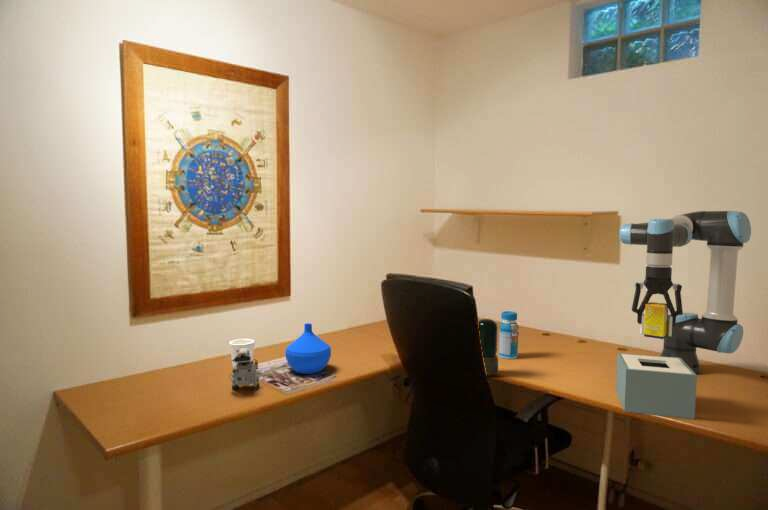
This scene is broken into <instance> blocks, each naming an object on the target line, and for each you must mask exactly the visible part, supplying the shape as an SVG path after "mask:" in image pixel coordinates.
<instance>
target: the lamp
mask: <svg viewBox="0 0 768 510" xmlns="http://www.w3.org/2000/svg"><path fill="white" fill-rule="evenodd" d="M477 322H479V331H480V340H481V347H482V352H483V358H484V363H485V368H486V372H487V375H488V376H487V377H493V376H495V375H497V374H498V372H499V357H498V355H497V353H498V332H499V331H498V330H499V329H498V324H497V322H496V321H495V320H493V319H491V318H482V319H478V321H477Z"/></svg>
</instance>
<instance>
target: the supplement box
mask: <svg viewBox="0 0 768 510" xmlns="http://www.w3.org/2000/svg"><path fill="white" fill-rule="evenodd" d="M644 311H645V312H644V315H645V325H644V335H643V336H644V337H645V338H652V339H659V340H664V338H665V337H666V336H667V325H668V314H669V308H668V305H667V303H666V302H664V303H663V302H656V301H655V302H653V301H649V302H648V304H645V310H644Z"/></svg>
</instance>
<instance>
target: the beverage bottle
mask: <svg viewBox="0 0 768 510" xmlns="http://www.w3.org/2000/svg"><path fill="white" fill-rule="evenodd" d="M501 320H502V321H501V322H500V325H499V331H498V335H499V337H498V339H499V340H498V343H499V344H498V346H499V347H498V348H499V349H498V356H499V357H500V358H502V359H506V360H508V359H509V360H513V359H514V360H515V359H517V358H518V357H519V354H518V353H519V349H518V348H519V334H520V333H519V325H518V323H517V320H518V313H517V312H516V311H512V310H511V311H510V310H508V311H505V310H504V311H501Z"/></svg>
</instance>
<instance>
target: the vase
mask: <svg viewBox="0 0 768 510" xmlns="http://www.w3.org/2000/svg"><path fill="white" fill-rule="evenodd" d="M312 324H313V323H309V322H308V323H307V322H306V323H304V327H303V328H304V330H303V332H302V334H301V335H300V336H299V337H298V338H296V339H295V340H294V341H292V342H291V343H290V344H288V345H287V347H286V349H285V353H284V354H285V355H284V356H285V359H286V361H287V363H288V364H287V365H289V366H290V368H291V370H292V371H294V372H296V373H298V374H299V375H300V374H302V375H313V374H317V373H320V372H322V371H323V370H324V369H325V367H326V366H327V365H328V363H329V362H330V359H331V356H332V347H331V346H330V344H328V343H327V342H325V341H324V340H323V339H321V338H320V337H318V336H317V334H315V333H314V332H313V327H312V326H313V325H312Z"/></svg>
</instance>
